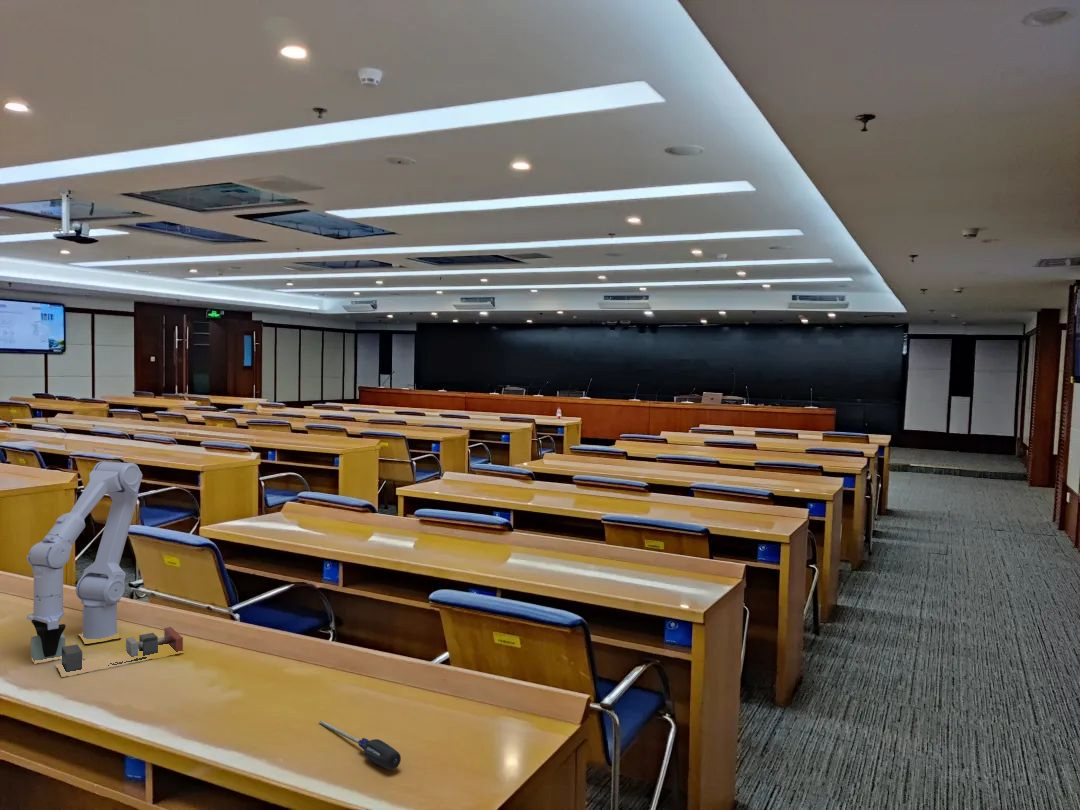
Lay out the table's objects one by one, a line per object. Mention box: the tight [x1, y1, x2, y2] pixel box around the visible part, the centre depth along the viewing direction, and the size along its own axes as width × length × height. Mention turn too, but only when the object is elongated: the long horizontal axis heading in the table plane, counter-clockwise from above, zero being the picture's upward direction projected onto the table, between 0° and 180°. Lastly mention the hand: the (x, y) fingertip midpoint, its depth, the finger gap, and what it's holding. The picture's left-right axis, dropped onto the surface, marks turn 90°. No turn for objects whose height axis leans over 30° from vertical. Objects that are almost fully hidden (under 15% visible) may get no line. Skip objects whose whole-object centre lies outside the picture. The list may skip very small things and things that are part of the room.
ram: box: [125, 626, 184, 657], centre depth 177 cm, size 10×10×3 cm
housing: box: [30, 633, 66, 661], centre depth 173 cm, size 5×6×6 cm
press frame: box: [61, 632, 159, 672], centre depth 173 cm, size 8×25×5 cm, turn 131°
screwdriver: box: [318, 720, 402, 770], centre depth 134 cm, size 26×4×4 cm, turn 44°
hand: (48, 652), depth 173 cm, fingers closed on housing, 5 cm apart
